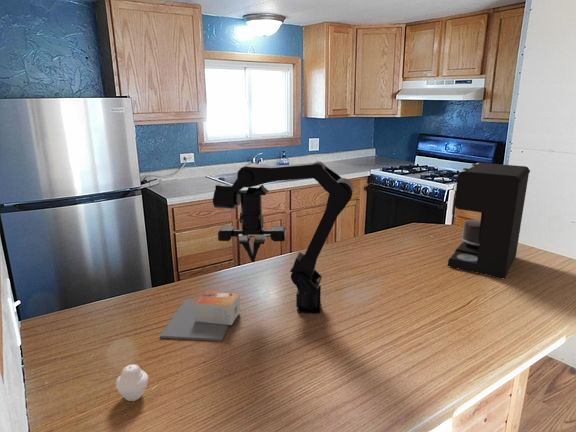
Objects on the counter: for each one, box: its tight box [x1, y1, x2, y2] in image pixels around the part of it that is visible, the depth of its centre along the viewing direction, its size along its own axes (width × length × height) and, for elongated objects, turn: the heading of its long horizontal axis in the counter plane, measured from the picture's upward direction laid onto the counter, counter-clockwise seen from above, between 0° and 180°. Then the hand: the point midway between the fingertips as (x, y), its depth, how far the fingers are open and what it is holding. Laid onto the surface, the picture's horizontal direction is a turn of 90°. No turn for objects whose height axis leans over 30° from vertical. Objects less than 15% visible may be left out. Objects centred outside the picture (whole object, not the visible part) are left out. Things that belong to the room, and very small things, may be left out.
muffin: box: [115, 364, 149, 402], centre depth 83 cm, size 6×6×7 cm
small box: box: [194, 290, 241, 326], centre depth 113 cm, size 8×6×10 cm
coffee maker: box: [447, 162, 531, 280], centre depth 149 cm, size 28×20×35 cm
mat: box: [159, 298, 230, 342], centre depth 113 cm, size 16×20×1 cm
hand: (253, 261), depth 119 cm, fingers closed
